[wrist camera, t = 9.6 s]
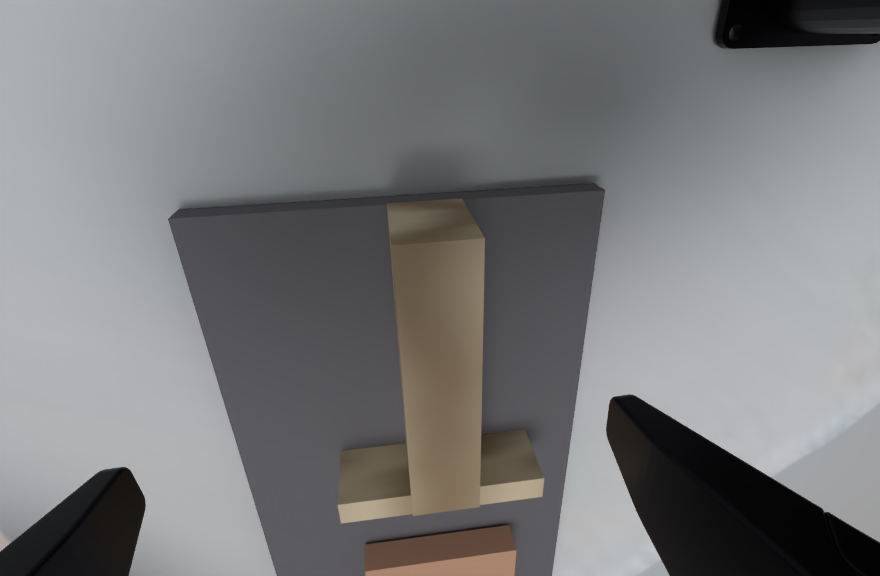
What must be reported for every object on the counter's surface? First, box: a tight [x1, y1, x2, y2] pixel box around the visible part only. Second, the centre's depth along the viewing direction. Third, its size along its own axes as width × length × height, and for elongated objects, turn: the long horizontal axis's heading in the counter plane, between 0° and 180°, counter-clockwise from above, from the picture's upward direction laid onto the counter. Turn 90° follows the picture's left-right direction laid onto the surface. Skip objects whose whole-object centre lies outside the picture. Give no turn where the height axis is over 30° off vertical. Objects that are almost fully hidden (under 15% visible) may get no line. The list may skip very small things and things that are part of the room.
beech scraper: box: [338, 199, 544, 524], centre depth 19 cm, size 9×13×4 cm
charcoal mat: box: [168, 183, 605, 576], centre depth 24 cm, size 16×27×1 cm, turn 1°
